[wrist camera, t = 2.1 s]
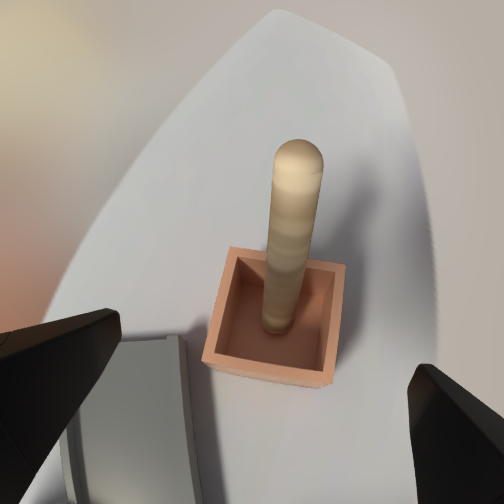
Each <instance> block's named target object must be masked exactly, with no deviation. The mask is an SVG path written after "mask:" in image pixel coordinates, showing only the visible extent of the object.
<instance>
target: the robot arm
mask: <svg viewBox="0 0 504 504" xmlns="http://www.w3.org/2000/svg"><path fill="white" fill-rule="evenodd" d="M121 337H122V332H121V323H120V315H119V313H118V312H117V311H116V310H112V309H109V308H105V309H101V310H97V311H93V312H89V313H85V314H80V315H76V316H72V317H68V318H64V319H60V320H56V321H52V322H48V323H43V324H39V325H35V326H31V327H27V328H22V329H18V330H14V331H12V332H11V331H10V332H5V333H1V334H0V504H19V503H20V501H21V499H22V497H23V496H24V494H25V492H26V491H27V489H28V487H29V486H30V484H31V482H32V481H33V479H34V477H35V476H36V474H37V472H38V471H39V469H40V467H41V466H42V464H43V463H44V461H45V459H46V458H47V456H48V455H49V453H50V451H51V450H52V448H53V447H54V445H55V444H56V442H57V441H58V439H59V438H60V436H61V434H62V433H63V431H64V430H65V428H66V427H67V425H68V424H69V422H70V421H71V419H72V418H73V416H74V415H75V413H76V412H77V410H78V409H79V407H80V406H81V404H82V403H83V402H84V400H85V399H86V397H87V396H88V394H89V393H90V391H91V390H92V388H93V387H94V386H95V384H96V383H97V381H98V380H99V378H100V377H101V375H102V373H103V371H104V370H105V368H106V366H107V364H108V362H109V361H110V359H111V357H112V355H113V353H114V351H115V350H116V348H117V346H118V344H119V343H120V340H121ZM407 395H408V409H409V428H410V439H411V446H412V453H413V460H414V468H415V477H416V487H417V498H418V504H504V418H502V417H501V416H500V415H498V414H497V413H496V412H495V411H493V410H492V409H490V408H489V407H488V406H487V405H485V404H484V403H483V402H481V401H480V400H479V399H477V398H476V397H475V396H473V395H472V394H471V393H470V392H468V391H467V390H466V389H464V388H463V387H462V386H460V385H459V384H458V383H456V382H455V381H454V380H452V379H451V378H450V377H448V376H447V375H446V374H444V373H443V372H442V371H440V370H439V369H438V368H436V367H435V366H434V365H432V364H419V365H418V366H417V368H416V370H415V373H414V375H413V377H412V379H411V381H410V383H409V385H408V390H407Z"/></svg>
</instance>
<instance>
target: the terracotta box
mask: <svg viewBox="0 0 504 504" xmlns="http://www.w3.org/2000/svg"><path fill="white" fill-rule="evenodd" d="M266 256H267V252H263V251H257V250H250V249H244V248H237V247H231V246H230V248H229V252H228V256H227V260H226V264H225V267H224V271H223V275H222V279H221V283H220V287H219V291H218V295H217V299H216V302H215V306H214V310H213V314H212V318H211V322H210V326H209V330H208V334H207V338H206V343H205V347H204V351H203V355H202V359H201V361H202V362H203V363H205V364H206V365H208V366H209V367H211V368H212V369H214V370H215V371H219V372H224V373H228V374H233V375H238V376H243V377H248V378H253V379H259V380H264V381H270V382H276V383H282V384H289V385H295V386H302V387H310V388H317V389H318V388H321V387H324V386H327V385H330V384H332V382H333V376H334V369H335V362H336V355H337V347H338V339H339V331H340V322H341V313H342V303H343V292H344V280H345V267H346V264H340V263H333V262H327V261H321V260H314V259H308V258H307V263H306V268H305V273H304V278H303V282H302V287H301V292H300V297H299V301H298V306H297V310H296V315H295V319H294V323H293V326H292V328H291V329H290V330H289V331H288V332H286V333H284V334H281V335H274V334H271V333H269V332H268V331H267V330H266V329H265V328H264V327H263V325H262V321H261V315H262V304H263V292H264V280H265V268H266Z"/></svg>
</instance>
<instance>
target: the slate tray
mask: <svg viewBox="0 0 504 504" xmlns="http://www.w3.org/2000/svg"><path fill="white" fill-rule="evenodd" d="M59 443H60V452H61V460H62V468H63V475H64V481H65V487H66V492H67V497H68V502H69V504H204V503H203V497H202V491H201V484H200V477H199V470H198V463H197V455H196V447H195V439H194V430H193V421H192V411H191V401H190V390H189V378H188V364H187V350H186V341H185V340H183V339H182V338H181V337H180V336H179V335H170V336H167V339H163V340H148V341H128V342H120V343H119V344H118V346H117V348H116V350H115V351H114V353H113V355H112V357H111V359H110V361H109V362H108V364H107V366H106V368H105V370H104V371H103V373H102V375H101V377H100V378H99V380H98V381H97V383H96V384H95V386H94V387H93V388H92V390H91V391H90V393H89V394H88V396H87V397H86V399H85V400H84V402H83V403H82V404H81V406H80V407H79V409H78V410H77V412H76V413H75V415H74V416H73V418H72V419H71V421H70V422H69V424H68V425H67V427H66V428H65V430H64V431H63V433H62V434H61V436H60V438H59Z"/></svg>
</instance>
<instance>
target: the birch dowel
mask: <svg viewBox="0 0 504 504" xmlns="http://www.w3.org/2000/svg"><path fill="white" fill-rule="evenodd" d="M323 167H324V162H323V157H322V155H321V152H320V151H319V150H318V148H317V147H316V146H315V145H314V144H312V143H310V142H308V141H306V140H301V139H295V140H291V141H288V142H286V143H284V144H283V145H282V146H281V147H280V148H279V149H278V151H277V152H276V154H275V157H274V164H273V178H272V192H271V205H270V218H269V231H268V244H267V256H266V268H265V280H264V292H263V304H262V315H261V321H262V325H263V327H264V328H265V329H266V330H267V331H268V332H269V333H271V334H274V335H281V334H284V333H286V332H288V331H289V330H290V329H291V328H292V326H293V323H294V319H295V315H296V310H297V306H298V301H299V297H300V292H301V287H302V282H303V278H304V273H305V268H306V263H307V258H308V253H309V248H310V242H311V237H312V232H313V226H314V221H315V215H316V210H317V204H318V198H319V192H320V186H321V180H322V174H323Z"/></svg>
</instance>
